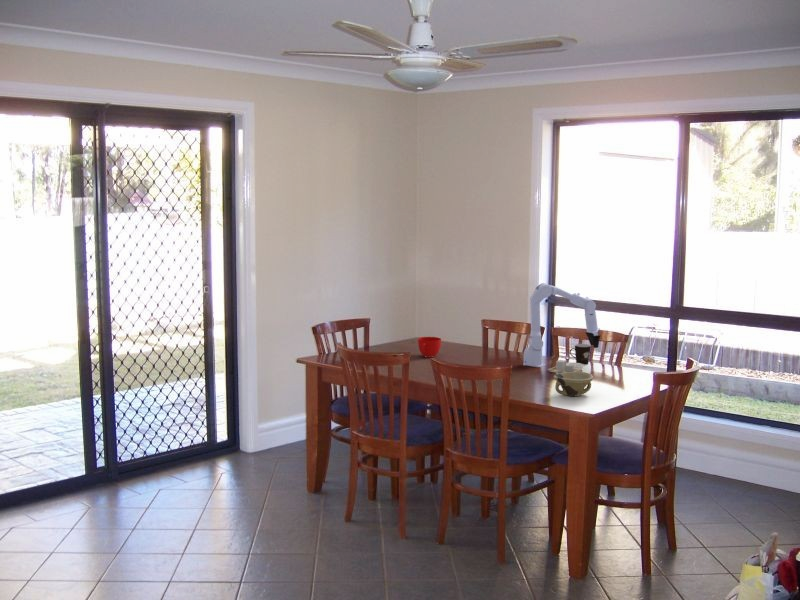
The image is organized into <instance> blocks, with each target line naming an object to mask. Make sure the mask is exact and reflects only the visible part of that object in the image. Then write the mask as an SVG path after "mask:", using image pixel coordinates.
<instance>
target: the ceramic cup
mask: <svg viewBox="0 0 800 600" xmlns="http://www.w3.org/2000/svg"><path fill="white" fill-rule="evenodd" d="M441 343H442V338H440V337H436V336H422V337H419V338H417V344H418V345H417V346H418V350H419V353H421V355H422V356H423V357H424V356H427V357H426V358H429V356H430V358H432V357H431V356H435V355H436V356H437V355H438V354H439V352H440V350H441ZM436 356H435V357H436Z"/></svg>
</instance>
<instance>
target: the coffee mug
mask: <svg viewBox="0 0 800 600" xmlns="http://www.w3.org/2000/svg"><path fill="white" fill-rule="evenodd" d="M591 348H592V345H591V344H588V343H587V344H586V343H577V344H574V347H571V349H570V350H569V354H570V356H571V357H572V358H574V359H575V363H581V364H583V365H584V366H585V365H589V362H590V355H591ZM572 350H574V352H575V353H574V354H575V356H574V355H573V354H572V353H571V352H572Z"/></svg>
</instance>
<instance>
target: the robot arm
mask: <svg viewBox="0 0 800 600" xmlns="http://www.w3.org/2000/svg"><path fill="white" fill-rule="evenodd" d="M556 295H558V296H560V297H562V298H565V299H568V300H569V301H570V303H571V304H573V305H574V306H578V307H580V308H583V309H584V318H585V326H586V332H585V335H586V336H587V338H588V342H589V345H591V346H593V348H594V349H597V348H599V344H600V338H601V334H599V333H598V332H599V331H601V328H599V327H598V320H597V313H596V308H597V303H596V302H595V301H594V300H592V299H591V298H589V296H586V297H585V296H583V295H581V293H580V292H574V293H570V292H568V291H566V290H564V289H562V288H559V287H558V286H554V285H552V284H548V283H544V282H542V283H540V284H538V286H535V289H534V291H533V293H532V294H531V297H530V300H529V301H530V303H529V304H530V307H529V308H530V334H529V338H528V344H529V347H526V348H525V349H524V352H523V364H522V365H523V366H527V367H528V366H529V367H536V368H540V367H543V366H545V365H546V364H545V363H543V347H544V340H543V339H542V334H541V304H540V303H541V302H542V301H543V300H544V299H546V298H549V297H550V296H556Z"/></svg>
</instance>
